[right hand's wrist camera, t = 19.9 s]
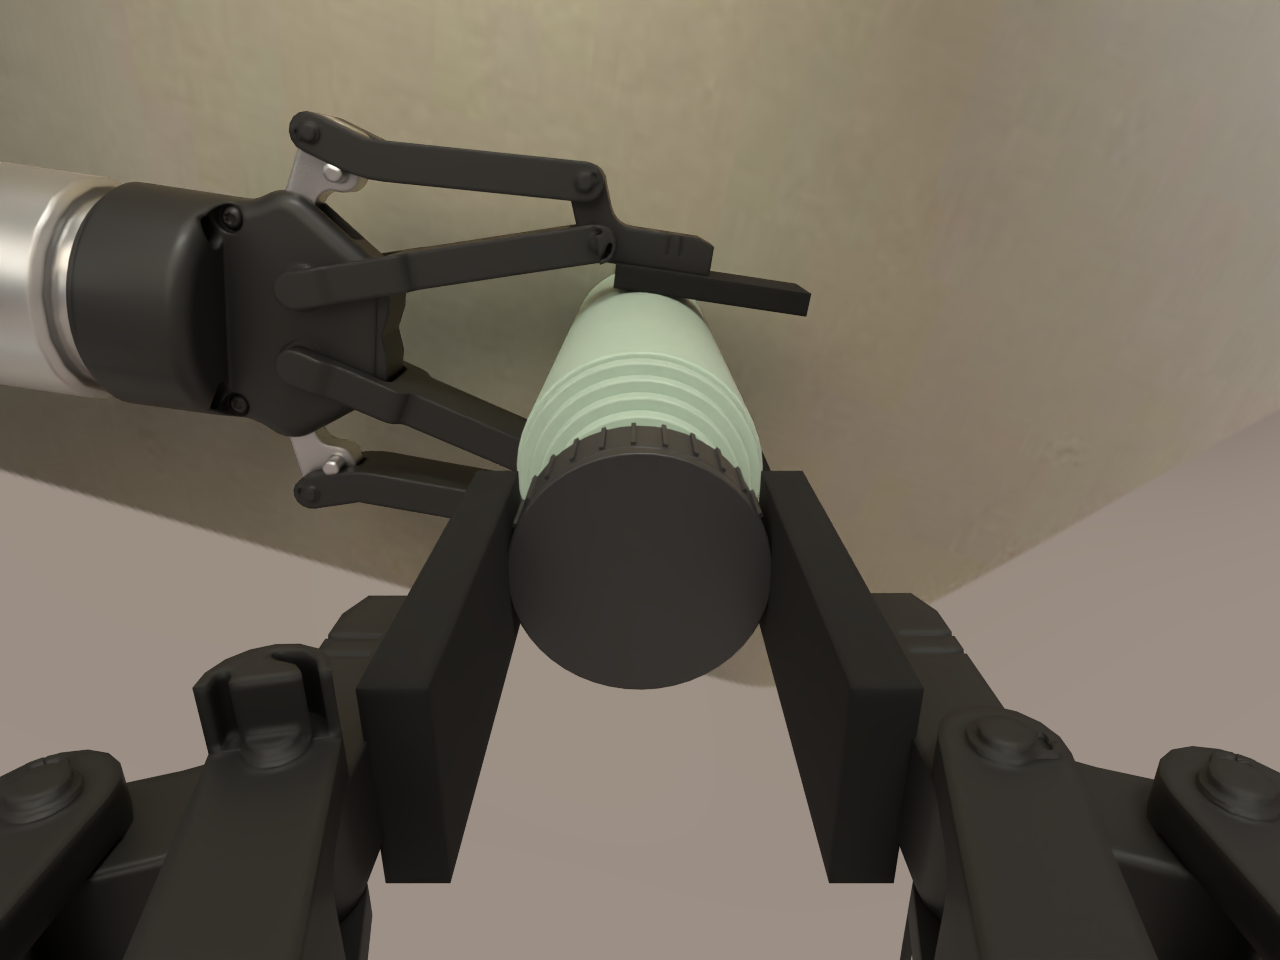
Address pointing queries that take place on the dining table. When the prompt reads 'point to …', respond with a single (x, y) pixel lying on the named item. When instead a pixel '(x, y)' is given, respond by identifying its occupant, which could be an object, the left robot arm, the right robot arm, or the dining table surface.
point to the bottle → (639, 382)
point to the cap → (639, 558)
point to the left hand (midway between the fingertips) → (780, 387)
